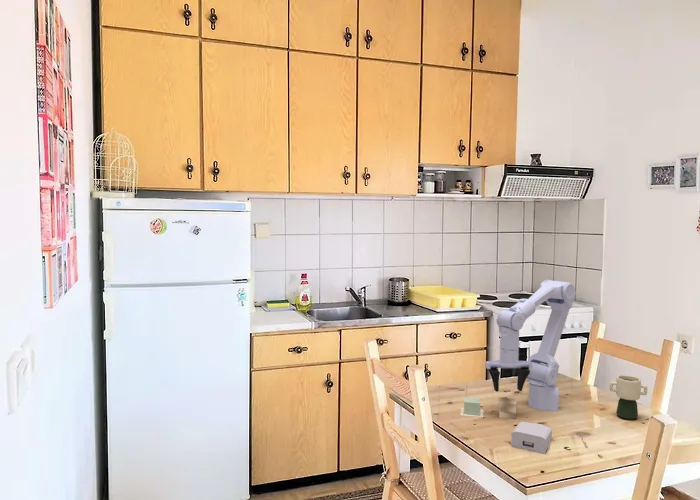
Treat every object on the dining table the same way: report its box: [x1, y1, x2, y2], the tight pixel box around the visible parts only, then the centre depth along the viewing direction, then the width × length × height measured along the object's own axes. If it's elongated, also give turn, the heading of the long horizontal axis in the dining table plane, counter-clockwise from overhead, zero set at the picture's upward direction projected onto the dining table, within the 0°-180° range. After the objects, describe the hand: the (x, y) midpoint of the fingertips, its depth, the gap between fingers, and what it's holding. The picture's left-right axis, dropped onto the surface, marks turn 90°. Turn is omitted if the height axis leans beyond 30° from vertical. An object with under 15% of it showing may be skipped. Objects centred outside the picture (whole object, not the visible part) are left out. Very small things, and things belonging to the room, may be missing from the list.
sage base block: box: [463, 396, 481, 416], centre depth 176 cm, size 5×5×4 cm
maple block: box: [498, 397, 517, 420], centre depth 173 cm, size 5×5×5 cm
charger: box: [510, 421, 553, 454], centre depth 157 cm, size 5×9×15 cm
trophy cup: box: [609, 374, 648, 420], centre depth 176 cm, size 11×7×13 cm, turn 68°
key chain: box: [563, 433, 589, 450], centre depth 156 cm, size 13×7×1 cm, turn 162°
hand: (507, 390), depth 173 cm, fingers open, 7 cm apart
